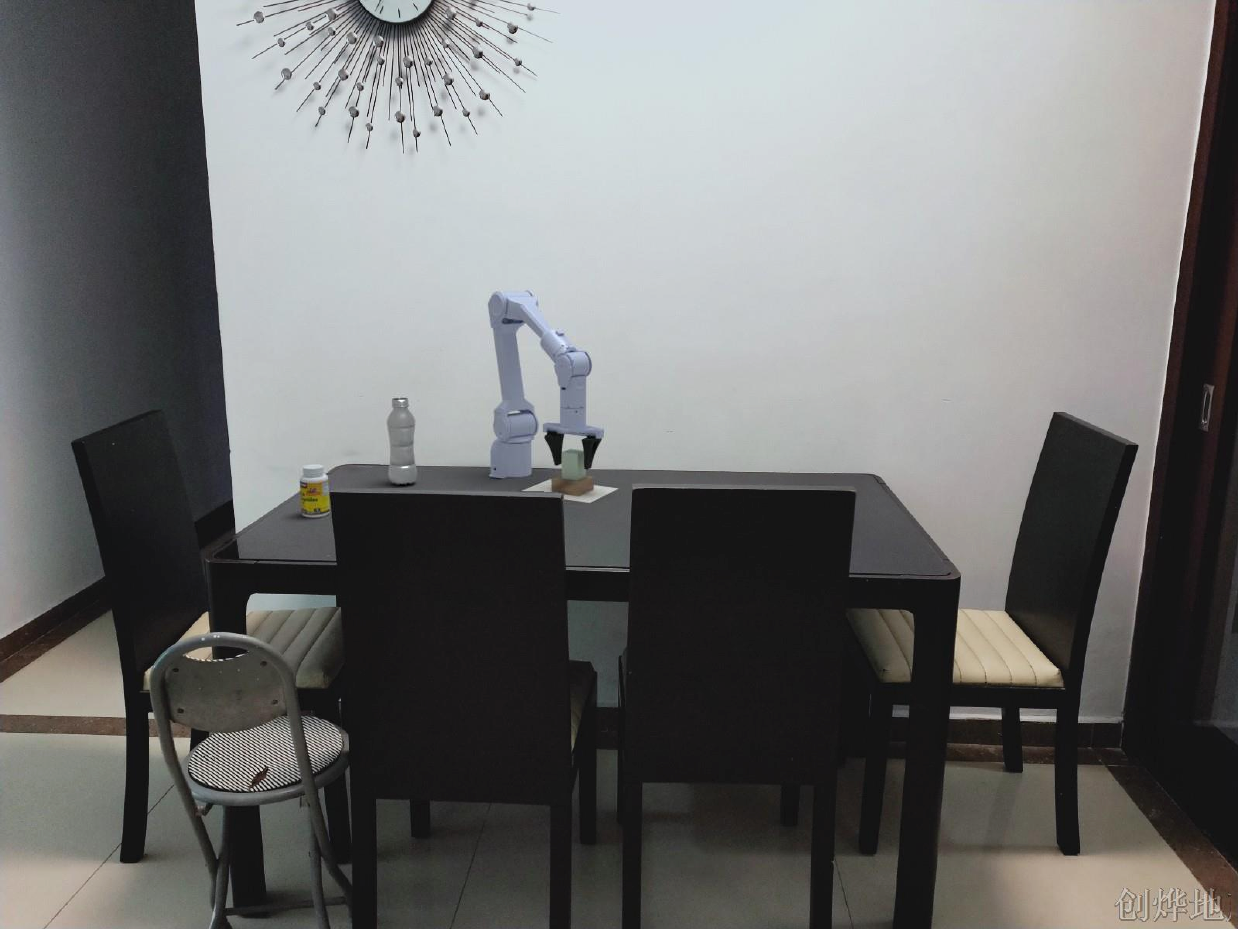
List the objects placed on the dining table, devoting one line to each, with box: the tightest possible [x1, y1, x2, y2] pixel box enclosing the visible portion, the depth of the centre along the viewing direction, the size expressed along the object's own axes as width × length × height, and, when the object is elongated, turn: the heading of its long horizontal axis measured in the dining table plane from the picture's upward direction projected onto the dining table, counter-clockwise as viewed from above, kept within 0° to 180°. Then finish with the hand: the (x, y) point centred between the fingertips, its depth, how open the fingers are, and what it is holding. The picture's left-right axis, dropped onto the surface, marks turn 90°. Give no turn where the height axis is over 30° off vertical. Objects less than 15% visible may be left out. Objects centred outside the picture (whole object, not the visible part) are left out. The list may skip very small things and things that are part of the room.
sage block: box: [561, 448, 587, 480], centre depth 211 cm, size 4×4×6 cm
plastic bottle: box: [386, 397, 418, 485], centre depth 217 cm, size 6×7×20 cm
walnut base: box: [550, 474, 595, 496], centre depth 212 cm, size 7×7×3 cm
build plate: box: [522, 478, 619, 504], centre depth 213 cm, size 18×14×1 cm
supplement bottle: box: [299, 463, 331, 519], centre depth 193 cm, size 6×6×10 cm
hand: (572, 466), depth 211 cm, fingers open, 7 cm apart
